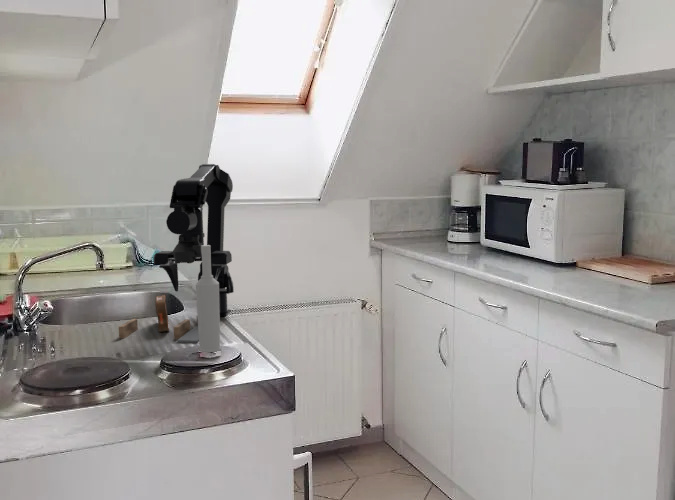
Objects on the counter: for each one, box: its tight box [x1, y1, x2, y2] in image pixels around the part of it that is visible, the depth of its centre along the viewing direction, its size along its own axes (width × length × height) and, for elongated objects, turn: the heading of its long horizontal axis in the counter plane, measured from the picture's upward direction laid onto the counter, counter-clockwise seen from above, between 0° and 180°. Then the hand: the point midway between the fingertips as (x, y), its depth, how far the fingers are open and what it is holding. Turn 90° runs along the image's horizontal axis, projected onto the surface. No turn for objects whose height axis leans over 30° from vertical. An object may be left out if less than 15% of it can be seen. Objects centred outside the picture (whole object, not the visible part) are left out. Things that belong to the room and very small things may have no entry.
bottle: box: [195, 244, 222, 352], centre depth 156 cm, size 5×5×25 cm
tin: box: [154, 294, 170, 333], centre depth 184 cm, size 15×3×8 cm, turn 14°
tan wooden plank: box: [118, 318, 191, 340], centre depth 178 cm, size 9×15×3 cm, turn 84°
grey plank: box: [176, 324, 199, 344], centre depth 177 cm, size 16×5×1 cm, turn 174°
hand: (194, 291), depth 177 cm, fingers open, 9 cm apart
